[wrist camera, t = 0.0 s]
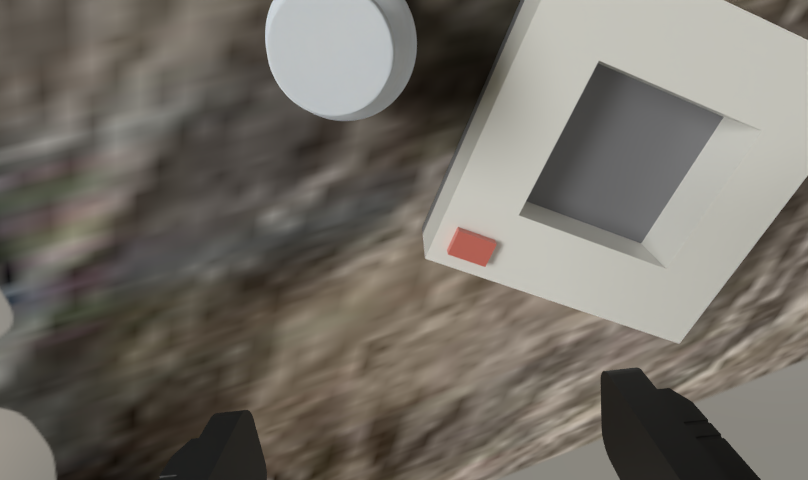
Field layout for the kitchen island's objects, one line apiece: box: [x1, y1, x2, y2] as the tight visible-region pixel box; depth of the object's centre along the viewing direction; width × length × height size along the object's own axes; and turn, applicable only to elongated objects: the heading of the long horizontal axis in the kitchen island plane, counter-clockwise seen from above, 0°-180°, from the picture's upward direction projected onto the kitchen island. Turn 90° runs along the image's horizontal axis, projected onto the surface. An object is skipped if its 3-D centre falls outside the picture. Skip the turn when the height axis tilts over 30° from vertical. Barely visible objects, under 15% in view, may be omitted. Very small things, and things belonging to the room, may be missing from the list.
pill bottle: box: [265, 0, 417, 121], centre depth 23 cm, size 6×6×12 cm
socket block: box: [422, 0, 808, 343], centre depth 29 cm, size 18×18×5 cm
